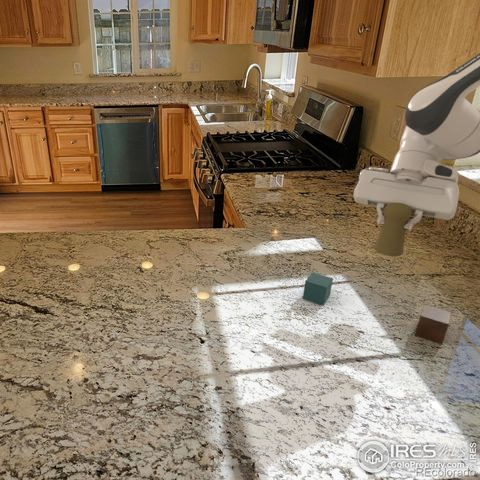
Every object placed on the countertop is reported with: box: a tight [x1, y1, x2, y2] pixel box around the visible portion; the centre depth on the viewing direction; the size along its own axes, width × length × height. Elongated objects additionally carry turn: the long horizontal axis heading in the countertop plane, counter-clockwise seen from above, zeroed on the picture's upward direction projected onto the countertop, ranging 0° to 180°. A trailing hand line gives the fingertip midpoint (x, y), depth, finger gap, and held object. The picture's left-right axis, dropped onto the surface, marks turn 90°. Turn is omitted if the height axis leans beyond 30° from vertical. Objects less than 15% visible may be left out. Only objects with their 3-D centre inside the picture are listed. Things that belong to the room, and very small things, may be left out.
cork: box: [373, 203, 412, 257], centre depth 94 cm, size 6×6×11 cm
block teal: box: [302, 272, 334, 306], centre depth 102 cm, size 5×5×5 cm
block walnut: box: [414, 304, 452, 345], centre depth 89 cm, size 5×5×5 cm
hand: (393, 226), depth 93 cm, fingers closed on cork, 4 cm apart
